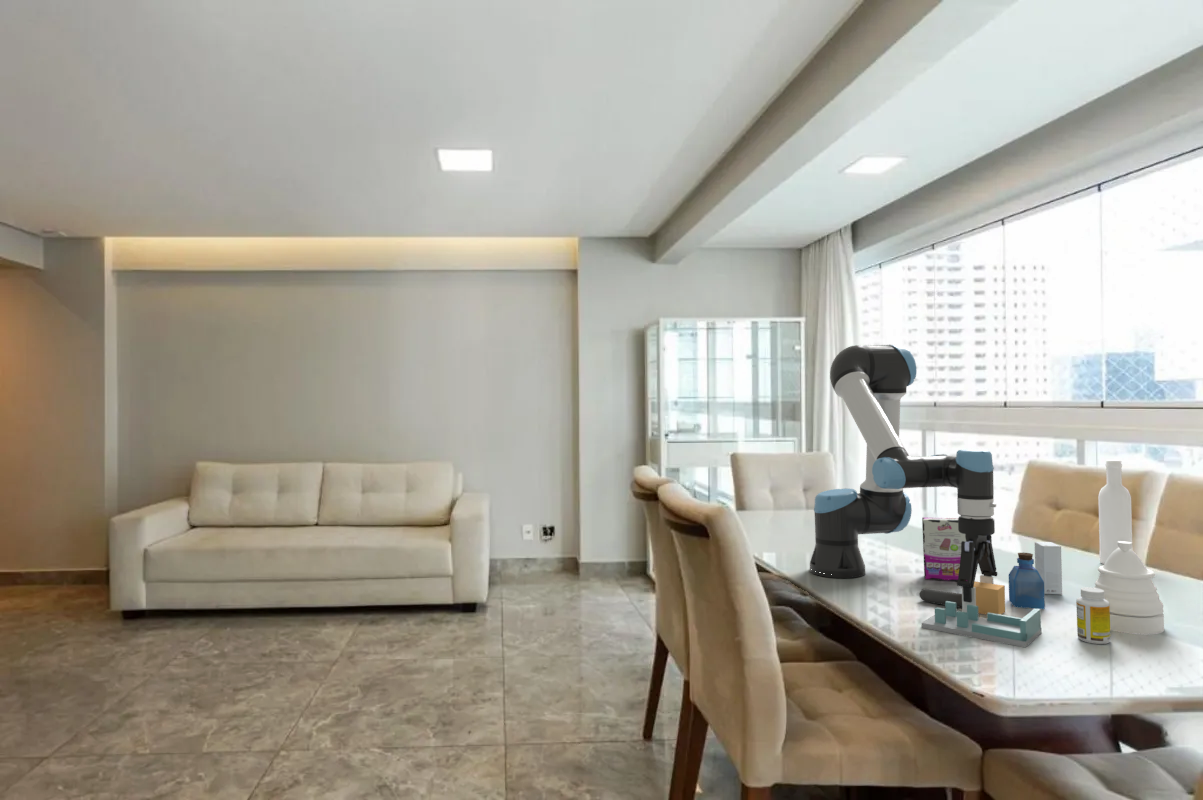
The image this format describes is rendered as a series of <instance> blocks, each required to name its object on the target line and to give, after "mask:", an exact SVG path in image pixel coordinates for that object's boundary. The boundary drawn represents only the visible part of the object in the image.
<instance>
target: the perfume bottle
mask: <svg viewBox="0 0 1203 800" xmlns="http://www.w3.org/2000/svg"><path fill="white" fill-rule="evenodd" d="M1017 555H1018V557H1017V558H1016V562H1017V564H1018V565H1014V566H1013V567H1012V569H1011V570H1010V572H1009V573H1008V599H1009V602H1010V603H1011V605H1012V606H1013V607H1014V608H1021V609H1035V608H1036V609H1040V610H1045V609H1046V606H1045V594H1044V581H1043V580H1042V578H1041V576H1040V574H1039V573H1038V571H1037V570H1036V569H1035V566H1033V565H1035V558H1034V554H1033V553H1031V552H1030V553H1029V552H1017Z"/></svg>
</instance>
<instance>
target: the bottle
mask: <svg viewBox="0 0 1203 800" xmlns="http://www.w3.org/2000/svg"><path fill="white" fill-rule="evenodd" d="M1105 467H1106V468H1105V472H1106V475H1105V476H1106V478H1105V479H1106V484H1104V486H1102V487H1101V488H1100V490H1099V493H1098V495H1097V496H1098V500H1097V501H1098V525H1099V526H1098V532H1099V534H1098V535H1099V536H1098V537H1099V539H1098V540H1099V553H1098V554H1099V562H1100V563H1101V564H1102V565H1104V564H1105V562H1106V560H1107V559H1108V557H1109V556H1110V555H1111V553H1112V552H1113V551H1114V550H1116V549H1117V548H1119V546H1118V543H1117V542H1118V541H1126V542H1132V543H1133V521H1132V520H1133V519H1132V517H1133V516H1132V514H1133V512H1132V495H1131V494H1130V491H1129V489H1128V488H1127V487H1125V486H1124V485H1123V480H1122V479H1123V475H1122V473H1123V472H1122V467H1123V464H1122V460H1120V459H1106V460H1105ZM1131 550H1133V546H1132V547H1131ZM1133 551H1134V550H1133Z"/></svg>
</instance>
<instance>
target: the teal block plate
mask: <svg viewBox="0 0 1203 800" xmlns="http://www.w3.org/2000/svg"><path fill="white" fill-rule="evenodd" d="M944 606H945V608H942V607H935V608H934V615H932V616H930V617H929V618H927V619H926V620H924V621H922V622H921V628H922V629H926V630H927V629H929V630H934V631H937V632H942V633H949V634H952V635H953V634H954V635H958V636H959V635H960V636H964V637H969V638H975V639H979V640H980V639H981V640H983V641H990V642H996V643H1001V644H1005V645H1011V646H1017V647H1022V648H1027V647H1028V646H1029V645H1030V644H1031V643H1032V642H1033V641H1034V640H1036V638H1037V637H1039V636H1040V635H1041V634H1042V621H1041V619H1042V618H1041V616H1042V615H1041V609H1036V608H1032V610H1030V612H1028V613H1027V614H1026V615H1025V616H1023V617H1017V616H1014V615H1013V616H1012V615H1006V614H1002V615H1001V614H995V613H989V612H988V613H987V615H986V618H985V617H982V616H979V613H978V606H975V605H967V612H962V610H961V611H960V610H958V611H957V608H958V607H956V602H950V601H946V602H945V605H944Z"/></svg>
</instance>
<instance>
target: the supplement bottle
mask: <svg viewBox="0 0 1203 800" xmlns="http://www.w3.org/2000/svg"><path fill="white" fill-rule="evenodd" d="M1104 598H1105V595H1104V590H1102V589H1098V588H1094V587H1090V586H1089V587H1086V586H1085V587H1081V588H1080V596H1079V597H1077V598H1076V602H1075V603H1076V631H1077V633H1076V634H1077V635H1076V636H1077V638H1078V640H1081V641H1083V642H1085V643H1088V644H1094V645H1106V644H1109V643H1110V642H1111V639H1112V638H1111V630H1110V605H1109V602H1108V601H1107V600H1105V599H1104Z"/></svg>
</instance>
